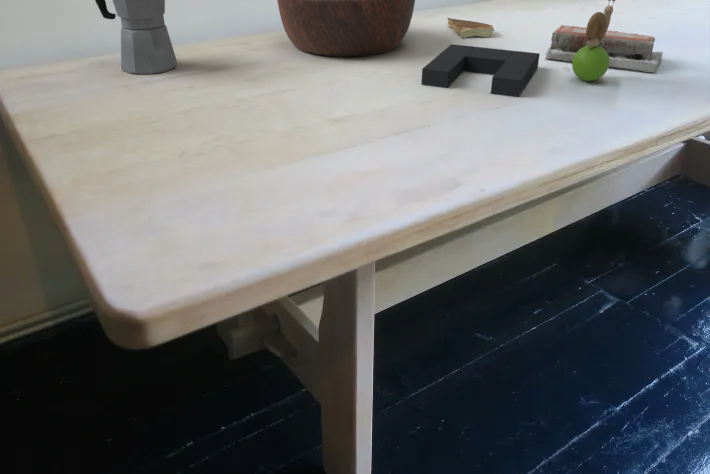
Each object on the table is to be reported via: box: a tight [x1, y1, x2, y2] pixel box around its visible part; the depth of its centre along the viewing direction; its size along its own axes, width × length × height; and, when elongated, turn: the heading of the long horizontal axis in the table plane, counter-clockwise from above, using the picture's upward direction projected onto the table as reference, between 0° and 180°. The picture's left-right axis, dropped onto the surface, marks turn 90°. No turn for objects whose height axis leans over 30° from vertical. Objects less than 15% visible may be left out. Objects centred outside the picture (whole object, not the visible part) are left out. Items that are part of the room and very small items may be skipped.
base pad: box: [421, 43, 541, 98], centre depth 105 cm, size 15×16×2 cm
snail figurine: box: [571, 0, 616, 82], centre depth 102 cm, size 5×6×12 cm
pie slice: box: [447, 17, 495, 39], centre depth 132 cm, size 11×8×2 cm
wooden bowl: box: [276, 0, 416, 57], centre depth 121 cm, size 25×25×10 cm
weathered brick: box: [545, 24, 664, 73], centre depth 113 cm, size 18×5×10 cm
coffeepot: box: [94, 0, 177, 75], centre depth 106 cm, size 15×9×18 cm, turn 77°
